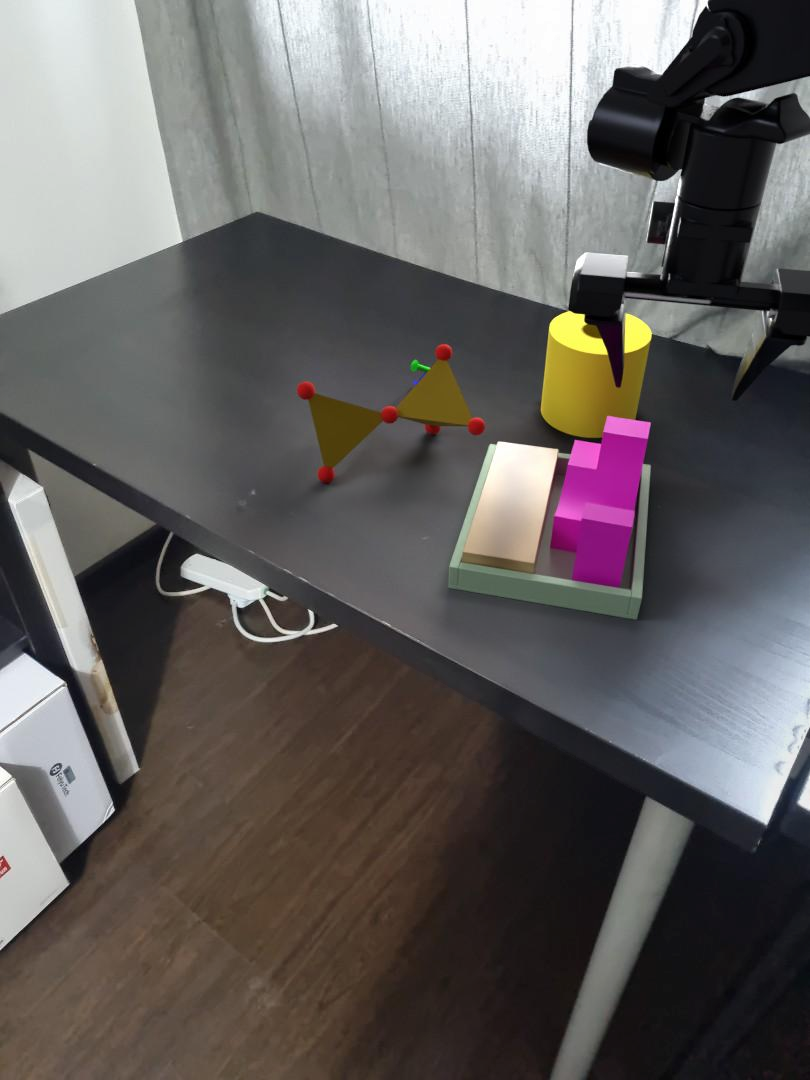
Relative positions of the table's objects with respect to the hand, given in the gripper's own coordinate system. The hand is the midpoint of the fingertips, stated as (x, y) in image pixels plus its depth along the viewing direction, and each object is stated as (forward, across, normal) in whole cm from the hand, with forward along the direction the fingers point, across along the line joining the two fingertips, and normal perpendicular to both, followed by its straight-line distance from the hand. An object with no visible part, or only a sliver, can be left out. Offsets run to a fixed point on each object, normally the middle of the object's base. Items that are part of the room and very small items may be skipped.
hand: (675, 391), depth 68 cm
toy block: (+12, +5, +6) cm, 14 cm away
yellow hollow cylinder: (+12, +7, -15) cm, 21 cm away
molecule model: (+12, +27, -5) cm, 30 cm away
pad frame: (+12, +8, +6) cm, 16 cm away
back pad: (+12, +12, +6) cm, 18 cm away
